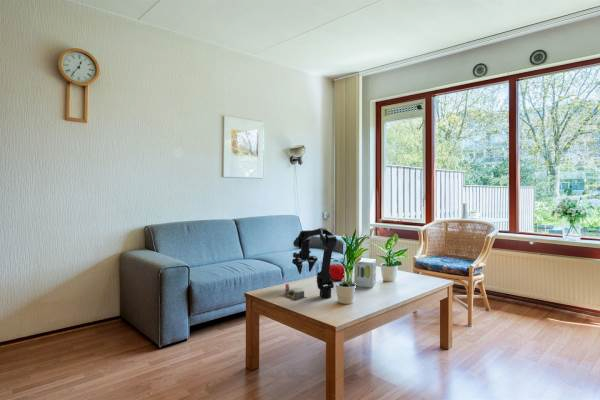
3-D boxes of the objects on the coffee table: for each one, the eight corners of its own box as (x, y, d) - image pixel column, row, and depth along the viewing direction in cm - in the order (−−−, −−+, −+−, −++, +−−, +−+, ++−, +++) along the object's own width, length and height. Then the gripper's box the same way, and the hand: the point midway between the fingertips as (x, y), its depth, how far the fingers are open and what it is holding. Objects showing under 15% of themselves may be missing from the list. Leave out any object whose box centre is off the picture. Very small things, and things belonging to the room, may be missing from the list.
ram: (294, 294, 226) (294, 285, 225) (288, 296, 222) (288, 286, 222) (288, 292, 229) (288, 283, 229) (282, 294, 226) (282, 284, 226)
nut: (300, 297, 221) (300, 292, 221) (296, 298, 218) (296, 293, 218) (296, 296, 223) (296, 290, 223) (292, 297, 221) (292, 291, 221)
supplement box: (353, 285, 251) (354, 260, 250) (357, 281, 263) (357, 257, 263) (372, 288, 246) (373, 262, 246) (375, 283, 259) (376, 258, 258)
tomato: (342, 282, 259) (342, 266, 258) (324, 280, 264) (324, 264, 264) (347, 278, 270) (347, 263, 269) (330, 276, 275) (330, 261, 275)
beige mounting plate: (307, 298, 221) (307, 290, 221) (295, 302, 214) (295, 294, 214) (290, 293, 232) (290, 285, 231) (279, 296, 225) (279, 288, 224)
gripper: (306, 246, 252) (306, 268, 253) (286, 249, 239) (286, 272, 240) (318, 248, 244) (317, 271, 245) (298, 251, 231) (298, 276, 232)
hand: (304, 272), depth 241 cm, fingers open, 9 cm apart
